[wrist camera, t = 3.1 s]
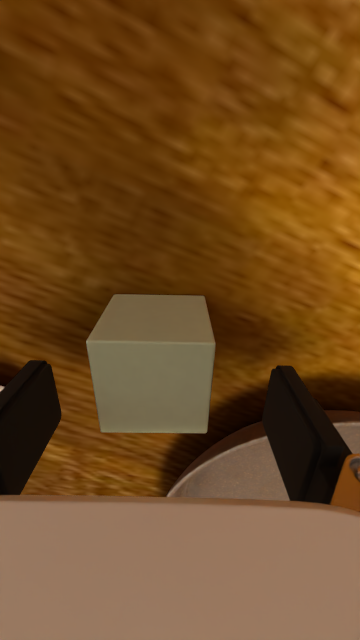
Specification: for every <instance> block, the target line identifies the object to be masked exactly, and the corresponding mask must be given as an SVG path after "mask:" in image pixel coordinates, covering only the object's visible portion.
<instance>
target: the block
mask: <svg viewBox="0 0 360 640" xmlns="http://www.w3.org/2000/svg"><path fill="white" fill-rule="evenodd" d="M86 344H87V350H88V356H89V363H90V369H91V375H92V381H93V387H94V393H95V400H96V406H97V412H98V418H99V424H100V430H101V432H135V433H207V429H208V419H209V408H210V398H211V388H212V377H213V367H214V357H215V346H216V343H215V339H214V335H213V330H212V326H211V322H210V318H209V313H208V309H207V305H206V300H205V297H204V296H190V295H136V294H114V295H113V297H112V299H111V300H110V302H109V304H108V305H107V307H106V309H105V310H104V312H103V314H102V315H101V317H100V319H99V321H98V322H97V324H96V326H95V327H94V329H93V331H92V332H91V334H90V336H89V337H88V339H87V341H86Z"/></svg>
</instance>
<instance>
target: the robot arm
mask: <svg viewBox="0 0 360 640" xmlns="http://www.w3.org/2000/svg"><path fill="white" fill-rule="evenodd" d="M60 420H61V409H60V404H59V400H58V395H57V390H56V386H55V381H54V377H53V372H52V367H51V365H50V364H47V362H46V361H40V360H31V361H29V362H28V363H27V364H26V365H25V366H24V367H23V368H22V369H21V370H20V371H19V372H18V374H17V375H16V376H15V377H14V378H13V379H12V380H11V381H10V382H9V383H8V384H7V385H6V386H5V387H4V389H3V390H2V391H1V392H0V640H360V454H359V453H358V454H353V453H352V452H351V450H350V449H349V447H348V446H347V444H346V443H345V441H344V440H343V438H342V437H341V435H340V434H339V432H338V431H337V429H336V428H335V426H334V425H333V423H332V422H331V420H330V419H329V417H328V416H327V414H326V413H325V411H324V410H323V408H322V407H321V405H320V404H319V402H318V401H317V400H316V399H314V398H313V397H312V396H311V394H310V392H309V391H308V389H307V388H306V386H305V385H304V383H303V382H302V380H301V379H300V377H299V376H298V374H297V373H296V371H295V370H294V368H293V367H292V366H277V367H276V369H272V371H271V376H270V381H269V386H268V391H267V396H266V401H265V406H264V411H263V416H262V423H263V427H264V430H265V432H266V435H267V438H268V441H269V444H270V446H271V449H272V452H273V455H274V458H275V460H276V463H277V466H278V469H279V472H280V474H281V477H282V480H283V483H284V486H285V488H286V491H287V494H288V497H289V499H290V501H281V500H258V499H223V498H183V497H134V496H73V495H20V494H21V492H22V490H23V488H24V486H25V484H26V483H27V481H28V479H29V477H30V475H31V473H32V472H33V470H34V468H35V466H36V464H37V462H38V461H39V459H40V457H41V455H42V453H43V451H44V450H45V448H46V446H47V444H48V442H49V440H50V439H51V437H52V435H53V433H54V431H55V429H56V428H57V426H58V424H59V422H60Z"/></svg>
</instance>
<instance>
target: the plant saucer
mask: <svg viewBox="0 0 360 640" xmlns="http://www.w3.org/2000/svg"><path fill="white" fill-rule="evenodd" d="M324 411H325V413H326V414H327V416H328V417H329V419H330V420H331V422H332V423H333V425H334V426H335V428H336V429H337V431H338V432H339V434H340V435H341V437H342V438H343V440H344V441H345V443H346V444H347V446H348V447H349V449H350V450H351V452H352V453H353V454H358V453H359V454H360V412H357V411H342V410H324ZM166 497H183V498H223V499H258V500H281V501H290V499H289V497H288V494H287V491H286V488H285V486H284V483H283V480H282V477H281V474H280V472H279V469H278V466H277V463H276V460H275V458H274V455H273V452H272V449H271V446H270V444H269V441H268V438H267V435H266V432H265V430H264V427H263V423H262V421H260V422H257V423H255V424H252V425H249V426H247V427H244V428H242V429H240V430H238V431H236V432H234V433H232V434H230V435H228V436H227V437H225V438H223V439H222V440H220V441H219V442H217V443H215V444H214V445H213V446H211V447H210V448H209V449H207V450H206V451H205V452H203V453H202V454H201V455H200V456H199V457H198V458H196V459H195V460H194V461H193V462H192V463H191V464H190V465H189V466H188V467H187V468H186V469H185V471H184V472H183V473H182V474H181V475H180V476H179V478H178V479H177V480H176V482H175V483H174V484H173V486H172V487H171V489H170V490H169V492H168V493H167V495H166Z"/></svg>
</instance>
